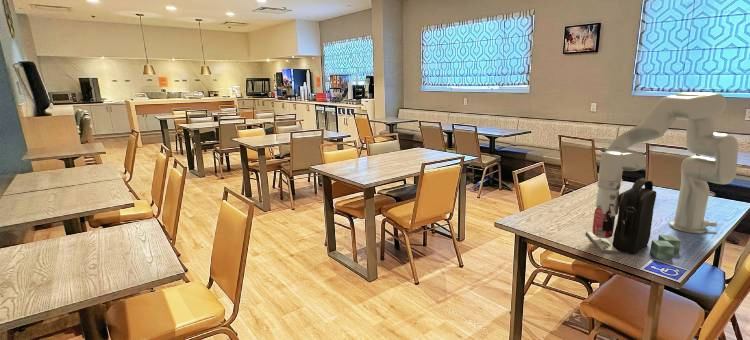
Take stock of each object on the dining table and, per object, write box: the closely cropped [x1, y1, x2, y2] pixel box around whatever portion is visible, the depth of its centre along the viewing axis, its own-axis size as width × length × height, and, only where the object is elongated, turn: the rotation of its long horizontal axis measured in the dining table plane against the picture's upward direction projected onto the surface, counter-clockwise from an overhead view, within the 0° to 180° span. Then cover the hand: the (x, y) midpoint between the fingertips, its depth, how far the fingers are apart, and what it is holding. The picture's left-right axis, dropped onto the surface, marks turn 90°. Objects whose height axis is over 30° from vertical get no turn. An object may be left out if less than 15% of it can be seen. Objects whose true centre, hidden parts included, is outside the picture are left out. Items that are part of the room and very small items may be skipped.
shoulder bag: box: [611, 177, 657, 256], centre depth 144 cm, size 23×9×28 cm, turn 130°
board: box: [585, 231, 619, 254], centre depth 151 cm, size 6×18×1 cm, turn 168°
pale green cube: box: [657, 234, 682, 254], centre depth 144 cm, size 5×5×5 cm
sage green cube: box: [649, 239, 674, 260], centre depth 139 cm, size 5×5×5 cm
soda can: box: [592, 206, 616, 239], centre depth 149 cm, size 7×7×12 cm
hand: (603, 226), depth 149 cm, fingers closed on soda can, 7 cm apart
